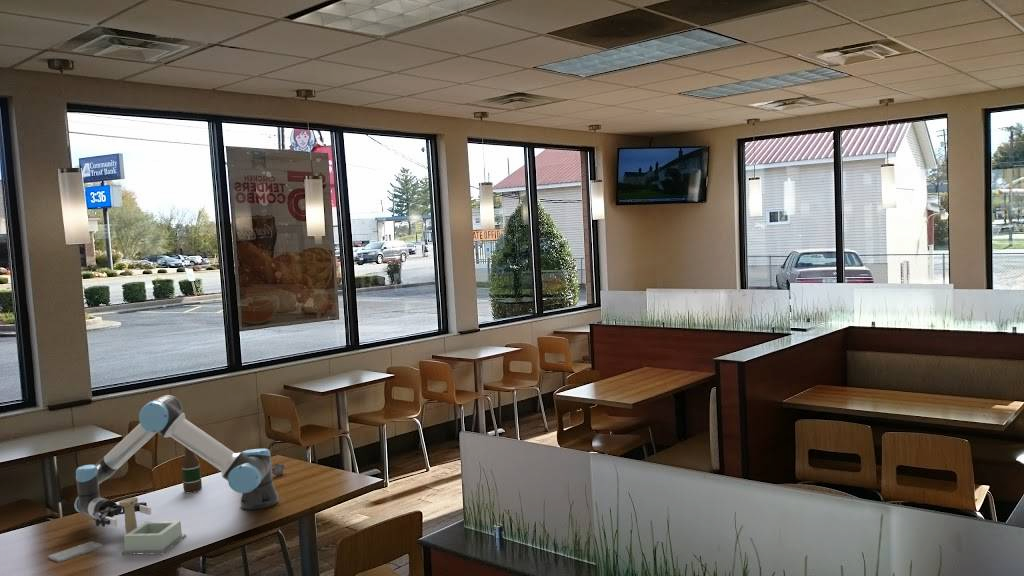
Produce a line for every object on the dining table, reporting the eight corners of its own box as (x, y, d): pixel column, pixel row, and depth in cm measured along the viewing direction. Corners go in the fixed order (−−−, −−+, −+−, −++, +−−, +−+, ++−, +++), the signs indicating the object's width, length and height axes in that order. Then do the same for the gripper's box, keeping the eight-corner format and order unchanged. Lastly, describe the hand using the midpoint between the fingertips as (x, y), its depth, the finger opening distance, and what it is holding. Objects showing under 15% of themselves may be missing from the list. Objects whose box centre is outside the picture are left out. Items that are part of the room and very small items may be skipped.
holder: (186, 536, 304) (184, 519, 303) (163, 553, 288) (161, 536, 288) (146, 537, 306) (144, 520, 305) (121, 554, 290) (119, 537, 289)
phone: (103, 548, 299) (103, 544, 299) (58, 563, 286) (58, 560, 286) (92, 543, 304) (92, 540, 304) (48, 559, 291) (47, 555, 291)
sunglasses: (257, 483, 367) (255, 472, 367) (239, 481, 378) (237, 470, 378) (288, 473, 379) (287, 463, 379) (270, 471, 391) (269, 461, 391)
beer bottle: (195, 493, 357) (190, 440, 355) (180, 493, 358) (175, 440, 357) (205, 487, 364) (201, 435, 363) (190, 487, 366) (185, 435, 364)
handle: (120, 540, 304) (116, 501, 303) (137, 534, 309) (133, 496, 308) (126, 542, 301) (123, 503, 300) (143, 537, 306) (139, 498, 305)
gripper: (134, 507, 326) (164, 515, 314) (71, 528, 305) (102, 538, 293) (132, 489, 325) (162, 497, 313) (69, 509, 305) (99, 518, 293)
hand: (133, 517), depth 303 cm, fingers open, 13 cm apart
